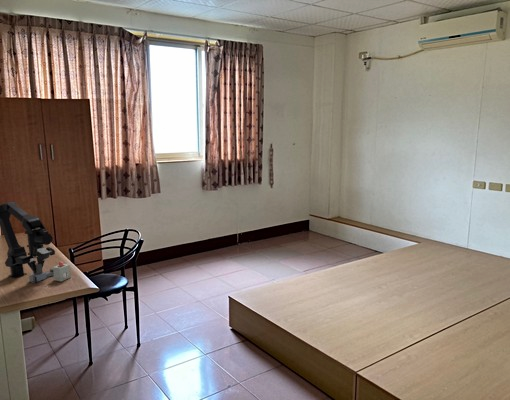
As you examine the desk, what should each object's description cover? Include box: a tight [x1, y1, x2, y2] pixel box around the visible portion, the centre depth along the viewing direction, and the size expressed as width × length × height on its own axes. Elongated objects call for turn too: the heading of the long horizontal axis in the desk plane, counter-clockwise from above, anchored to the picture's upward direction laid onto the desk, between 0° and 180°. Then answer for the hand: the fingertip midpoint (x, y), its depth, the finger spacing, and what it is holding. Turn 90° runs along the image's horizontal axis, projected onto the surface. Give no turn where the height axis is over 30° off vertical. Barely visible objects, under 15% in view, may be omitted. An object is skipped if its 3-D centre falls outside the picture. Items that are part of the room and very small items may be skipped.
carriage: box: [29, 262, 47, 283], centre depth 223 cm, size 5×5×8 cm
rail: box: [28, 268, 54, 284], centre depth 226 cm, size 3×13×3 cm, turn 153°
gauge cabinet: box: [52, 263, 72, 282], centre depth 224 cm, size 6×6×7 cm
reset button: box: [58, 261, 64, 267], centre depth 223 cm, size 2×2×4 cm
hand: (37, 272), depth 223 cm, fingers closed on carriage, 3 cm apart
